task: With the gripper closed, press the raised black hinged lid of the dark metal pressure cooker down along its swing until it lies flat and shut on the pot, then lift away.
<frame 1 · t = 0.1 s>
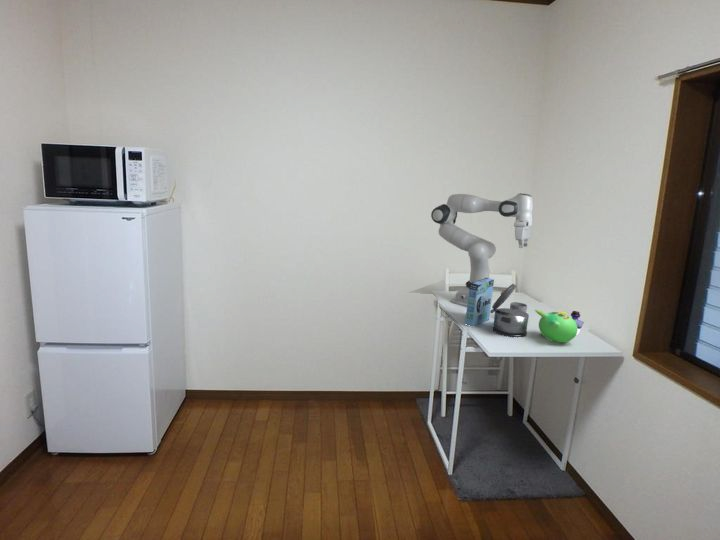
hand: (523, 247, 250), 39 cm above the table, tool pointing down, fingers open, 8 cm apart
gum box: (477, 322, 236), on the table
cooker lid: (501, 297, 223), point 17 cm above the table, hinge at 60.0°
cup: (516, 322, 241), on the table
potion bottle: (572, 334, 226), on the table
cooker pot: (509, 331, 224), on the table
toy bird: (554, 341, 214), on the table
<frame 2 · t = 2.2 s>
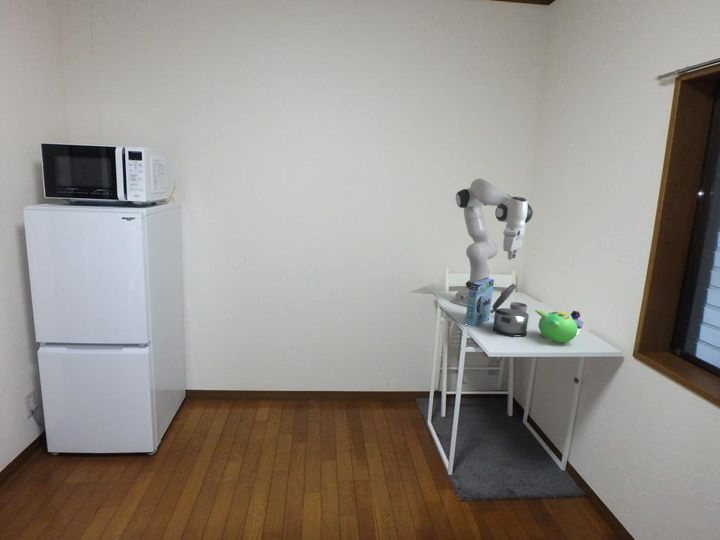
hand: (511, 258, 218), 37 cm above the table, tool pointing down, fingers open, 4 cm apart
nothing on the table moved.
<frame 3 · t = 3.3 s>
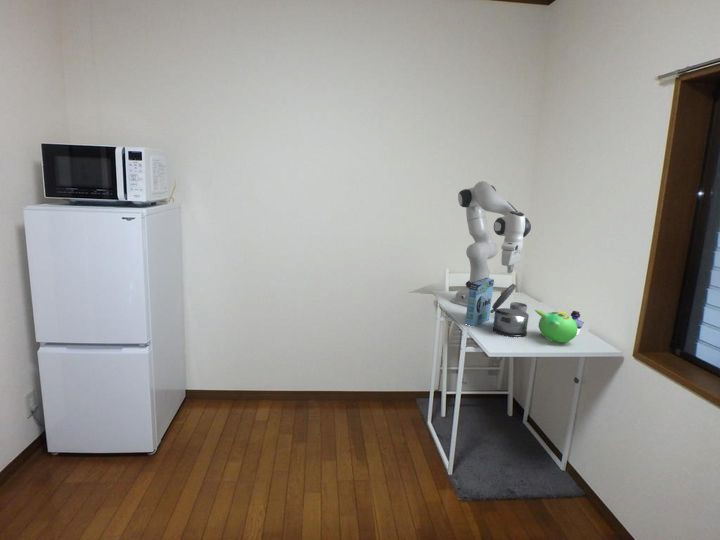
hand: (509, 272, 219), 30 cm above the table, tool pointing down, fingers closed
nothing on the table moved.
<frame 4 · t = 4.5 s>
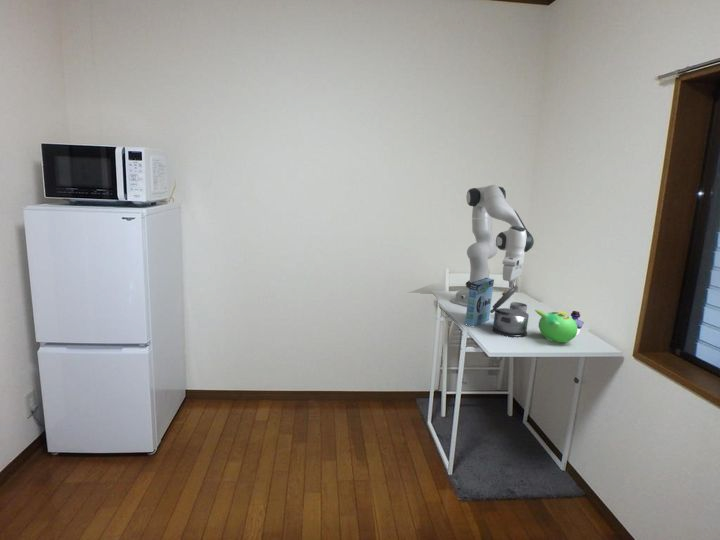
hand: (511, 287, 220), 23 cm above the table, tool pointing down, fingers closed, pressing on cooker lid
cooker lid: (502, 297, 223), point 17 cm above the table, hinge at 54.8°, touching gripper
everything else where it was.
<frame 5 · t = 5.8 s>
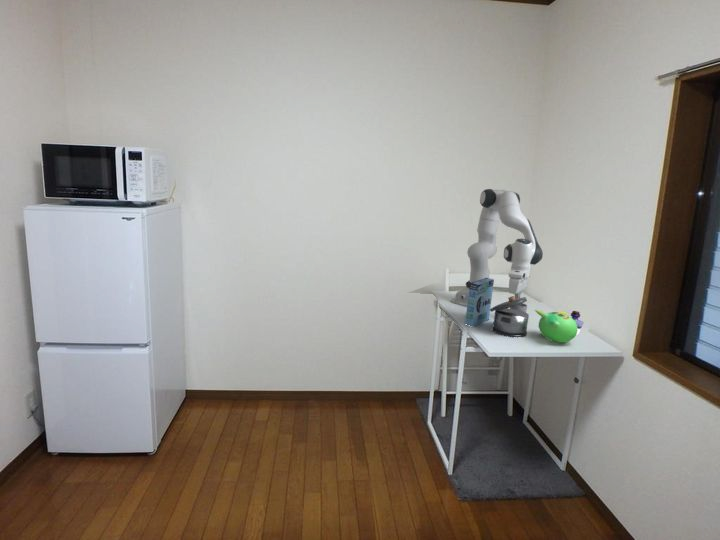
hand: (517, 299, 219), 17 cm above the table, tool pointing down, fingers closed, pressing on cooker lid
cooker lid: (507, 302, 222), point 15 cm above the table, hinge at 26.9°, touching gripper
everything else where it was.
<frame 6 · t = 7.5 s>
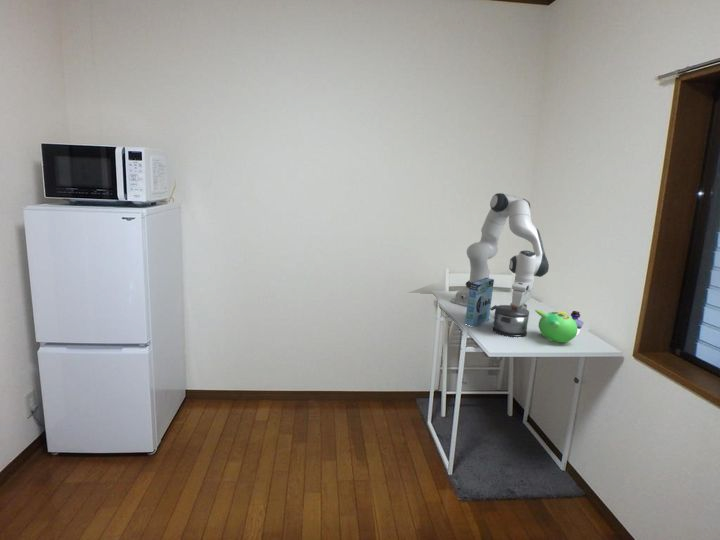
hand: (520, 311, 219), 12 cm above the table, tool pointing down, fingers closed, pressing on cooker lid
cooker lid: (510, 309, 222), point 12 cm above the table, hinge at 0.1°, touching gripper
everything else where it was.
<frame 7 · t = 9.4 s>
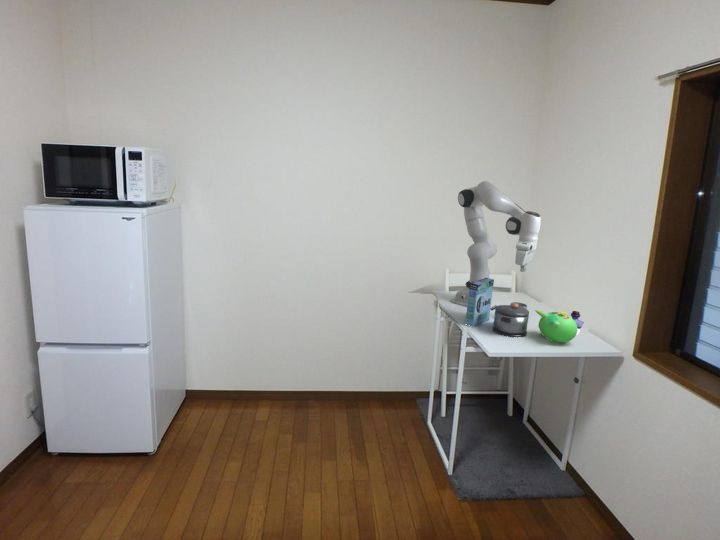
hand: (522, 271, 223), 30 cm above the table, tool pointing down, fingers closed
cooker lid: (510, 309, 222), point 12 cm above the table, hinge at 0.1°
everything else where it was.
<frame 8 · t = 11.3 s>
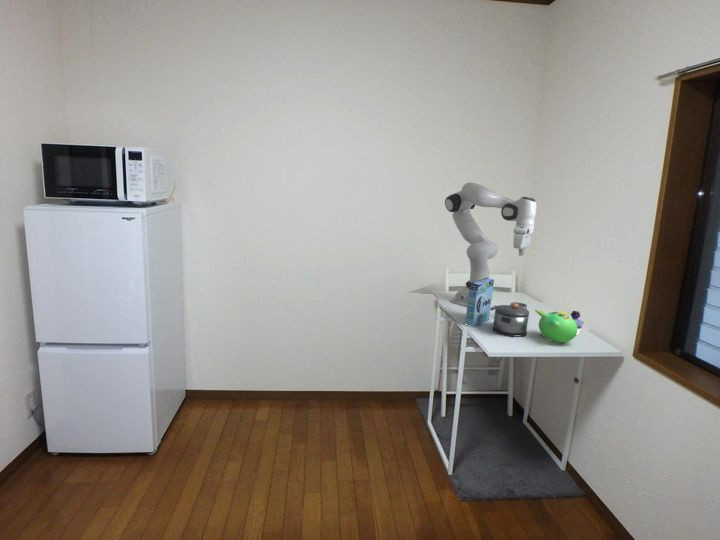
hand: (520, 255, 230), 37 cm above the table, tool pointing down, fingers closed
nothing on the table moved.
at the end: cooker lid at +0° (first picture: +60°); toy bird moved 0.2 cm from its start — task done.
